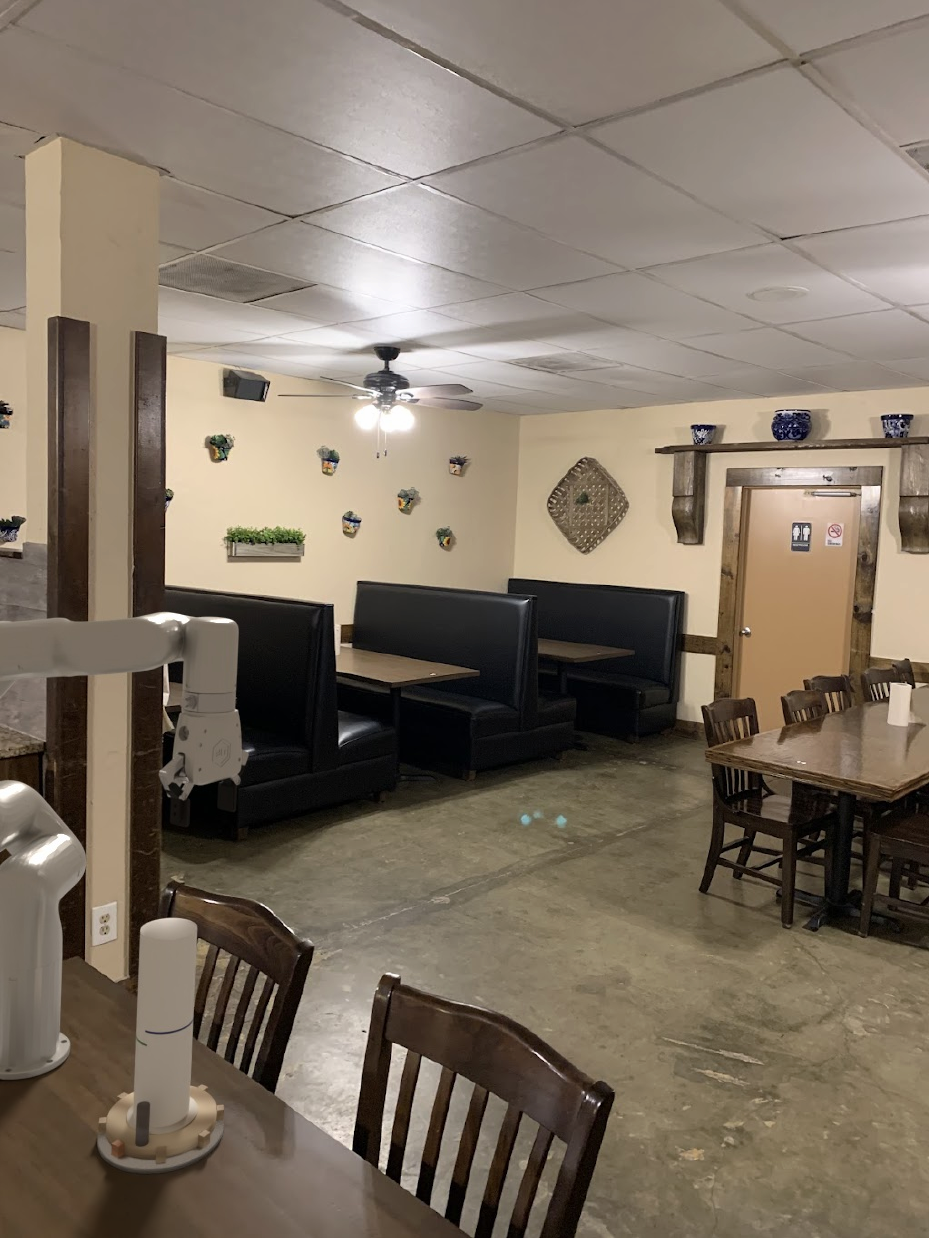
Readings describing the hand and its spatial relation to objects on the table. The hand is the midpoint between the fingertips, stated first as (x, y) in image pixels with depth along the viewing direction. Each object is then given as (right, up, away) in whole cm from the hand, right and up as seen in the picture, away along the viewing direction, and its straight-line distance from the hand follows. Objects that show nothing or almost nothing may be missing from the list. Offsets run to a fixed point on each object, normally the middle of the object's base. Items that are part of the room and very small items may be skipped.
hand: (203, 817), depth 139 cm
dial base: (-2, -39, -13) cm, 42 cm away
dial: (-2, -38, -13) cm, 40 cm away
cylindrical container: (-2, -37, -13) cm, 39 cm away
